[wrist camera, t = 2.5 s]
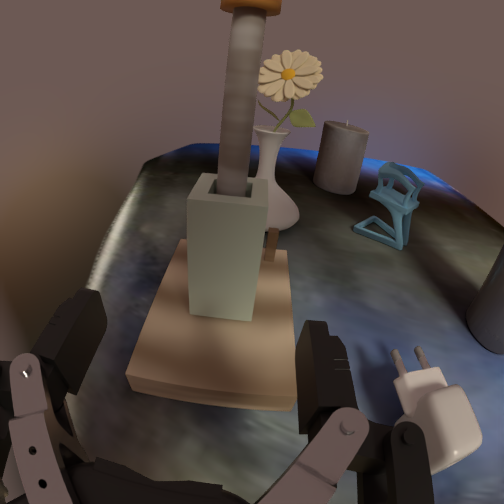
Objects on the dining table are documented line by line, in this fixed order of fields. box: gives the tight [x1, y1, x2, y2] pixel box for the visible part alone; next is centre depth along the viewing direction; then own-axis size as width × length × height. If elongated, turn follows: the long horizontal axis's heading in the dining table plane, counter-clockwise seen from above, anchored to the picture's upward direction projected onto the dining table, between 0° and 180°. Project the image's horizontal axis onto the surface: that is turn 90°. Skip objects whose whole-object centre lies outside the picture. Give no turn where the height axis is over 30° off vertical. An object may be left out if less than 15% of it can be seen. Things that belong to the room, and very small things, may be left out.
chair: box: [353, 162, 425, 250], centre depth 41 cm, size 8×8×12 cm
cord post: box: [125, 0, 297, 411], centre depth 18 cm, size 18×12×32 cm, turn 177°
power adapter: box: [390, 346, 483, 475], centre depth 17 cm, size 11×5×6 cm, turn 3°
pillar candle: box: [313, 120, 369, 195], centre depth 57 cm, size 10×10×15 cm
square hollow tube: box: [187, 173, 269, 321], centre depth 22 cm, size 5×5×10 cm
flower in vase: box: [253, 50, 323, 231], centre depth 37 cm, size 13×11×25 cm
